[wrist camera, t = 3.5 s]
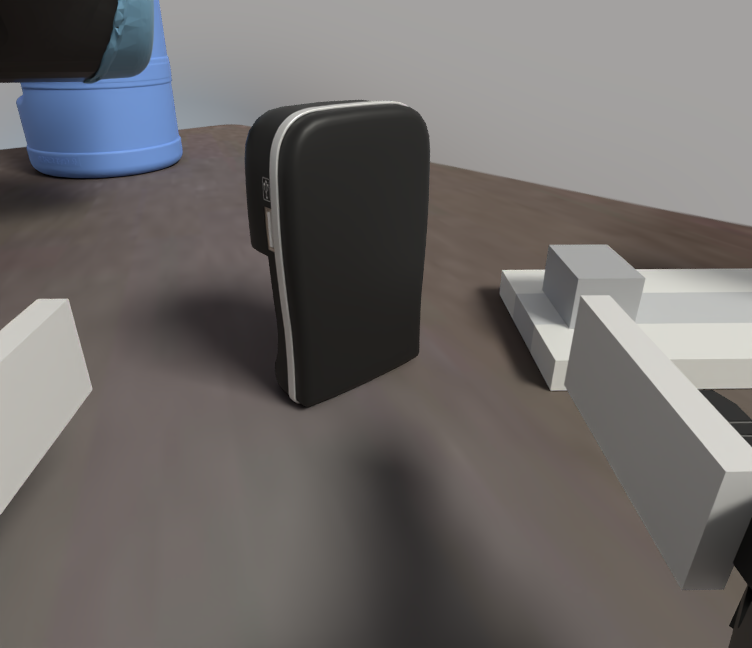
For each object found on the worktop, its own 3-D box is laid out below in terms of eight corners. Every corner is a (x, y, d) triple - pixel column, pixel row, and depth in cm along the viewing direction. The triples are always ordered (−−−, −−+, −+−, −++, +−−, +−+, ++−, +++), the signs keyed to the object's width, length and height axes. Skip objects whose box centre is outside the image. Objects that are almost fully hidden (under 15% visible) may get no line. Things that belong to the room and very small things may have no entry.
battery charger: (372, 330, 29) (373, 90, 24) (425, 359, 27) (439, 98, 22) (252, 378, 25) (221, 103, 20) (301, 418, 23) (281, 114, 17)
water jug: (209, 155, 69) (173, -137, 56) (124, 185, 56) (50, -188, 43) (101, 147, 73) (43, -127, 60) (-3, 174, 60) (-106, -171, 47)
